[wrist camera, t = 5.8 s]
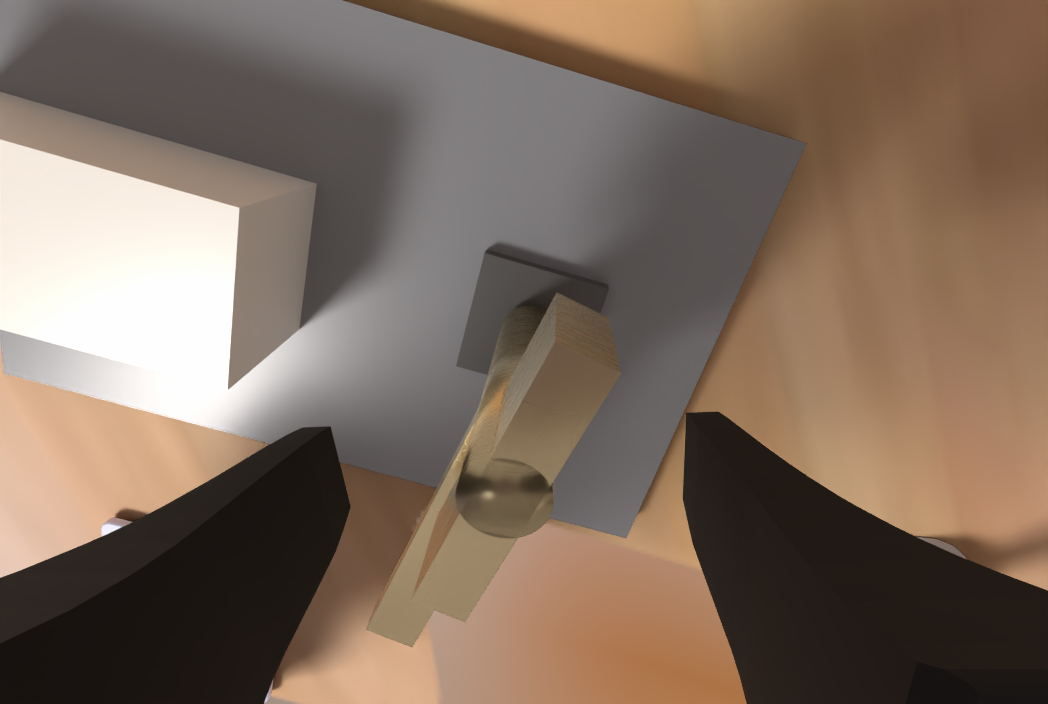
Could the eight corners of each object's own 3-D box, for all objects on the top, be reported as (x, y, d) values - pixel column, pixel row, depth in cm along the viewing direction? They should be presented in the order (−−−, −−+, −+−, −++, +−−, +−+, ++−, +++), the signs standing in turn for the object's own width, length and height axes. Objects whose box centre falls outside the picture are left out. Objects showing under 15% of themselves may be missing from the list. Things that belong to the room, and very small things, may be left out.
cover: (299, 329, 19) (227, 390, 15) (3, 248, 19) (-155, 287, 15) (316, 183, 17) (239, 207, 13) (-14, 87, 17) (-203, 81, 13)
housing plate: (623, 520, 23) (627, 547, 21) (27, 362, 22) (-9, 379, 20) (793, 141, 17) (813, 144, 15) (-20, -110, 16) (-76, -131, 14)
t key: (603, 256, 17) (637, 380, 9) (446, 538, 21) (382, 775, 14) (549, 229, 17) (537, 333, 9) (402, 519, 21) (314, 750, 14)
